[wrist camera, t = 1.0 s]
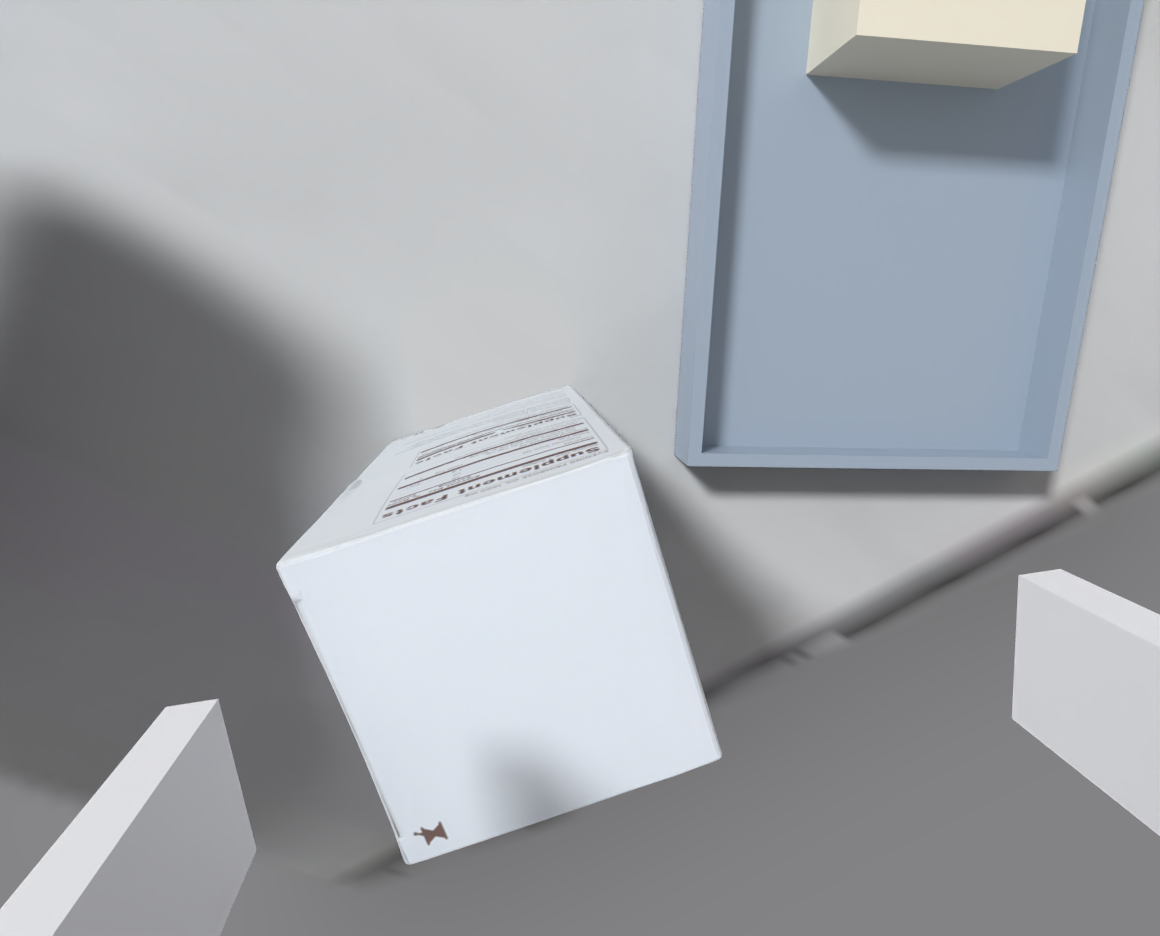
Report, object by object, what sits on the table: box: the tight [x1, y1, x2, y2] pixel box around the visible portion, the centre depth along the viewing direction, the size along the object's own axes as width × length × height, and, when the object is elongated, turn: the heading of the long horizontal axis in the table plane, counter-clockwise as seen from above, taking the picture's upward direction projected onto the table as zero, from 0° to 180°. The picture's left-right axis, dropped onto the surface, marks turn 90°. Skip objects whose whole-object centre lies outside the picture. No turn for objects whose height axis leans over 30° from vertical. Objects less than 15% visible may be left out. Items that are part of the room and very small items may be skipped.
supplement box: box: [276, 386, 723, 865], centre depth 26 cm, size 10×9×17 cm
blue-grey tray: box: [674, 0, 1144, 471], centre depth 31 cm, size 18×25×3 cm
